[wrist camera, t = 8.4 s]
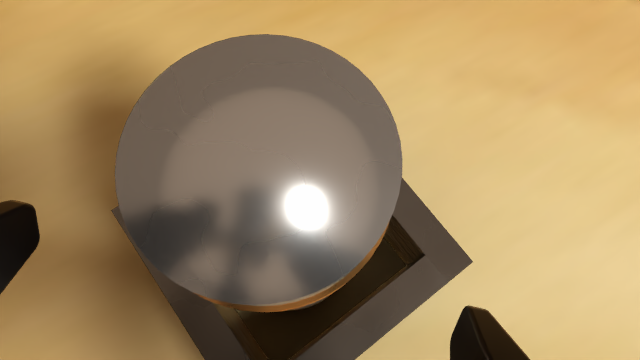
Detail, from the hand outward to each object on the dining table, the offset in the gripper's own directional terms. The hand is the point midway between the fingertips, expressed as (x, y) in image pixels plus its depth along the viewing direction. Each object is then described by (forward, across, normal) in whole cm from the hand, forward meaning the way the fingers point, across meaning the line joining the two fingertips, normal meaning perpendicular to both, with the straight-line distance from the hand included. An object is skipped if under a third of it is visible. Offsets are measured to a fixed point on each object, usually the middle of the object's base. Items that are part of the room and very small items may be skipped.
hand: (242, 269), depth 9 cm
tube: (+8, 0, +6) cm, 10 cm away
